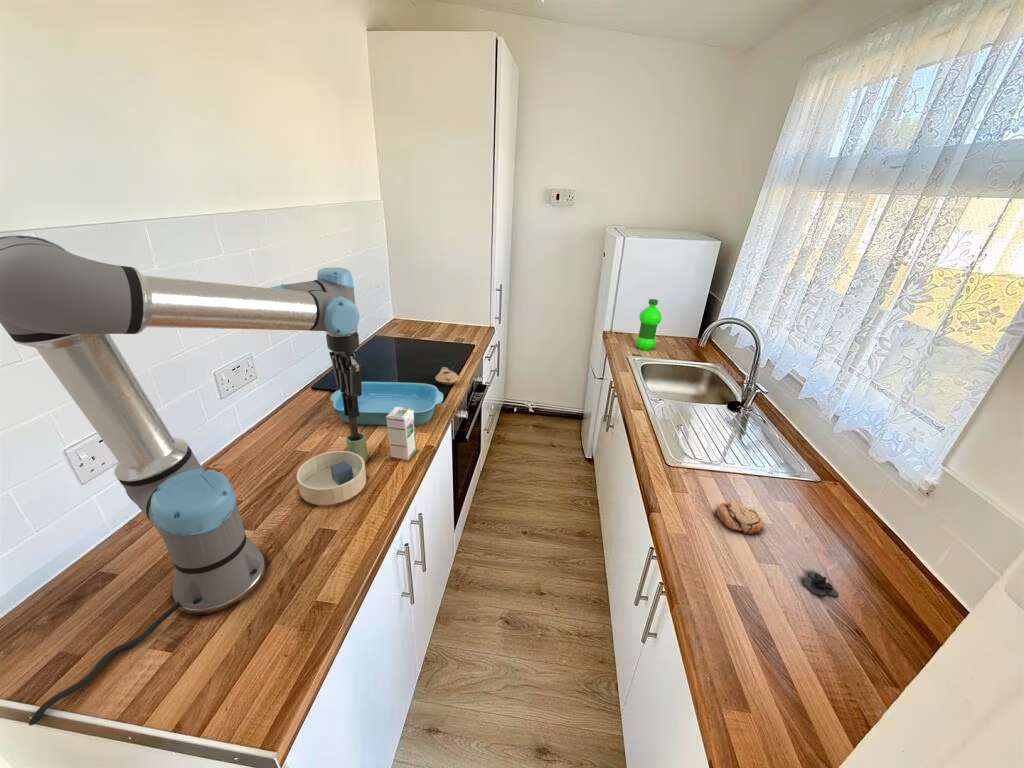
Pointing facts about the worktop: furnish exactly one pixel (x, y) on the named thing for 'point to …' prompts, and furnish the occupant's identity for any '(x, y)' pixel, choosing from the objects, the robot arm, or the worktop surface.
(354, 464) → the bowl
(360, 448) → the utensil pot
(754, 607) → the worktop surface
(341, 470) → the block
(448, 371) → the pottery oil lamp
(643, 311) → the plastic bottle
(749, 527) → the cookie
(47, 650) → the worktop surface
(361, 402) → the casserole dish
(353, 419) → the chopstick
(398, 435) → the syrup box
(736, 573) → the worktop surface
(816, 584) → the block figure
